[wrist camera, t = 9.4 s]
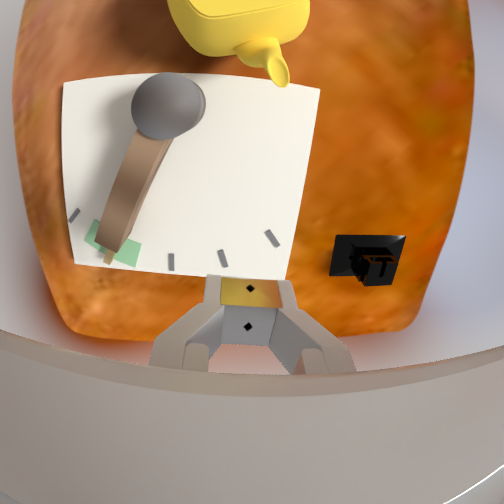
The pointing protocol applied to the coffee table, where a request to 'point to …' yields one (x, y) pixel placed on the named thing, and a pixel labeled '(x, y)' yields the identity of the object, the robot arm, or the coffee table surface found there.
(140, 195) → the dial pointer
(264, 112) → the dial plate
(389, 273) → the black flanged block
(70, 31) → the coffee table surface
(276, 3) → the teapot
